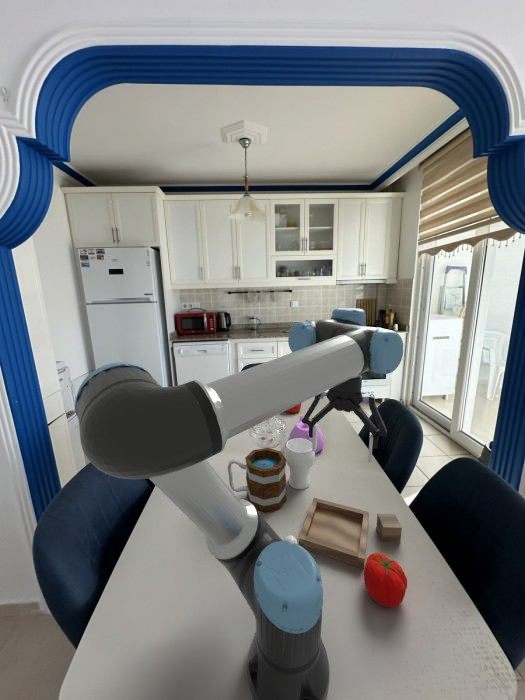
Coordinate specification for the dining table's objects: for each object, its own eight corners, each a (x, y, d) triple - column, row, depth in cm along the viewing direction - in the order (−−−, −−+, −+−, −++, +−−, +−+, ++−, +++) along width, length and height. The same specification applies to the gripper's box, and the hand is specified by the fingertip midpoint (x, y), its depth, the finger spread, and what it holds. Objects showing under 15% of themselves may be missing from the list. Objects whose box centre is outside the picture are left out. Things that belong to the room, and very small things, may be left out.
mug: (287, 486, 107) (287, 448, 103) (285, 514, 94) (285, 472, 90) (233, 483, 109) (231, 445, 106) (224, 510, 96) (222, 469, 93)
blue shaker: (295, 576, 74) (295, 546, 72) (280, 570, 75) (279, 541, 74) (299, 562, 78) (300, 534, 76) (285, 557, 79) (285, 529, 77)
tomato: (379, 621, 64) (382, 590, 62) (352, 577, 74) (354, 549, 72) (415, 608, 66) (419, 578, 64) (385, 567, 76) (387, 540, 74)
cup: (313, 494, 103) (314, 454, 99) (282, 490, 105) (282, 451, 101) (314, 474, 113) (315, 438, 110) (286, 471, 115) (286, 436, 112)
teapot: (331, 459, 123) (332, 432, 120) (293, 461, 121) (293, 434, 119) (316, 433, 144) (317, 409, 142) (284, 435, 143) (284, 411, 140)
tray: (363, 568, 76) (364, 559, 75) (299, 547, 82) (299, 538, 81) (368, 520, 91) (369, 512, 90) (313, 505, 97) (313, 497, 97)
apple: (280, 408, 173) (280, 391, 171) (297, 406, 176) (297, 389, 174) (287, 415, 164) (287, 397, 161) (304, 412, 167) (304, 395, 164)
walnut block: (400, 542, 83) (401, 527, 82) (382, 542, 83) (383, 527, 82) (393, 528, 88) (394, 513, 87) (376, 527, 88) (377, 513, 87)
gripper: (402, 374, 70) (394, 455, 75) (298, 364, 79) (297, 438, 84) (404, 384, 63) (395, 473, 68) (290, 372, 72) (289, 451, 77)
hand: (341, 453), depth 76 cm, fingers open, 13 cm apart
